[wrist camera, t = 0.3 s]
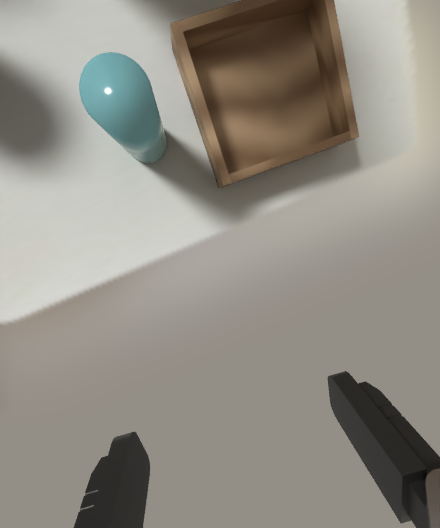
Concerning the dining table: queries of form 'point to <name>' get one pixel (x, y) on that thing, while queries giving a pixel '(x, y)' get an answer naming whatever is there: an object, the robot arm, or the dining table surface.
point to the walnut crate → (265, 83)
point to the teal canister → (123, 105)
